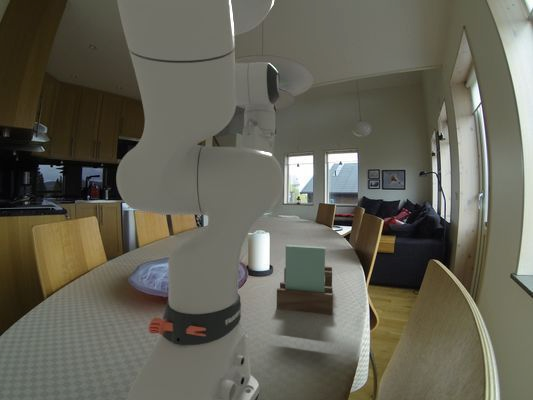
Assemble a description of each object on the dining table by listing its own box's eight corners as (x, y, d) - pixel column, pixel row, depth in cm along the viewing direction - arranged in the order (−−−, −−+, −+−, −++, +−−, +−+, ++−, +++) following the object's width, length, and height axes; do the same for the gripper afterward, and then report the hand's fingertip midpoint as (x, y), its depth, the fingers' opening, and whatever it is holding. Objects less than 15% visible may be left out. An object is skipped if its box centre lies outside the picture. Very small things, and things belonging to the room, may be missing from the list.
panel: (323, 311, 65) (325, 248, 64) (285, 306, 67) (285, 246, 67) (324, 307, 67) (325, 246, 66) (286, 303, 69) (286, 244, 69)
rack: (332, 321, 63) (332, 287, 63) (276, 314, 66) (276, 281, 66) (331, 294, 80) (332, 266, 79) (286, 289, 83) (287, 263, 83)
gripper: (260, 114, 62) (259, 171, 63) (277, 132, 82) (277, 175, 83) (235, 116, 64) (235, 172, 65) (258, 133, 84) (258, 175, 84)
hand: (259, 174), depth 74 cm, fingers open, 8 cm apart
